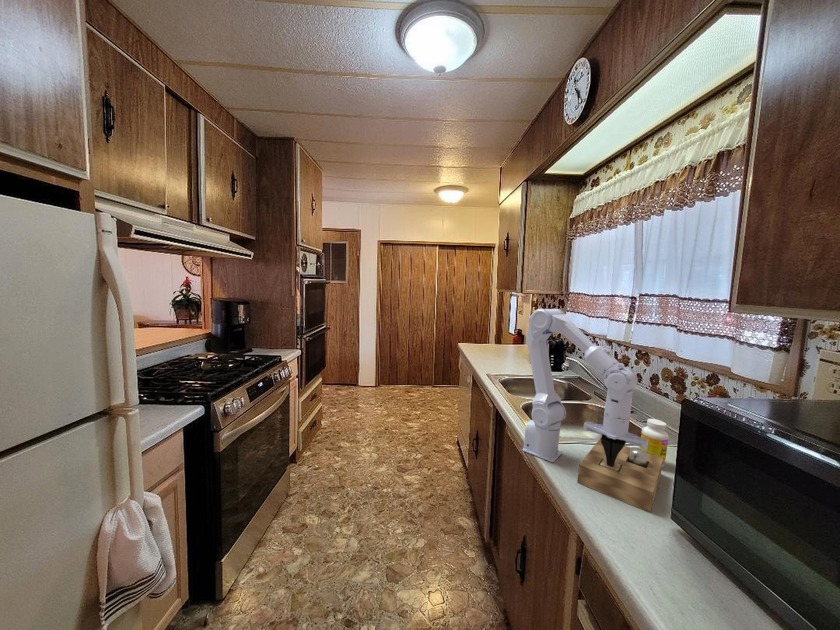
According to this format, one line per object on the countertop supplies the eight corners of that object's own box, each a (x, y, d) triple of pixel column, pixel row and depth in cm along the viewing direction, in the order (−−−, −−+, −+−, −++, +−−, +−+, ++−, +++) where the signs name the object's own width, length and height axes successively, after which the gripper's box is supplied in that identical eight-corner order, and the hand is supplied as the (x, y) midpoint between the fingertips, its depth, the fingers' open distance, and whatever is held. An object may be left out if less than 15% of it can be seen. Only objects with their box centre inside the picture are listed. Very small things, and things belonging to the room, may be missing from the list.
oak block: (577, 482, 89) (579, 464, 88) (598, 453, 106) (600, 438, 105) (650, 512, 79) (653, 492, 78) (660, 474, 95) (663, 458, 95)
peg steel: (626, 467, 92) (629, 450, 91) (629, 462, 95) (631, 445, 94) (644, 473, 89) (646, 456, 89) (646, 468, 92) (648, 451, 92)
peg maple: (597, 481, 89) (600, 464, 89) (601, 475, 92) (603, 458, 92) (615, 488, 87) (617, 470, 86) (618, 481, 90) (620, 464, 89)
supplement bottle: (660, 471, 97) (667, 428, 96) (634, 461, 102) (640, 420, 101) (667, 464, 102) (673, 423, 100) (641, 454, 106) (647, 415, 105)
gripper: (582, 410, 89) (576, 459, 91) (648, 428, 80) (640, 483, 81) (589, 404, 95) (584, 450, 96) (652, 420, 85) (644, 471, 87)
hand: (610, 464), depth 89 cm, fingers closed, pressing on peg maple
